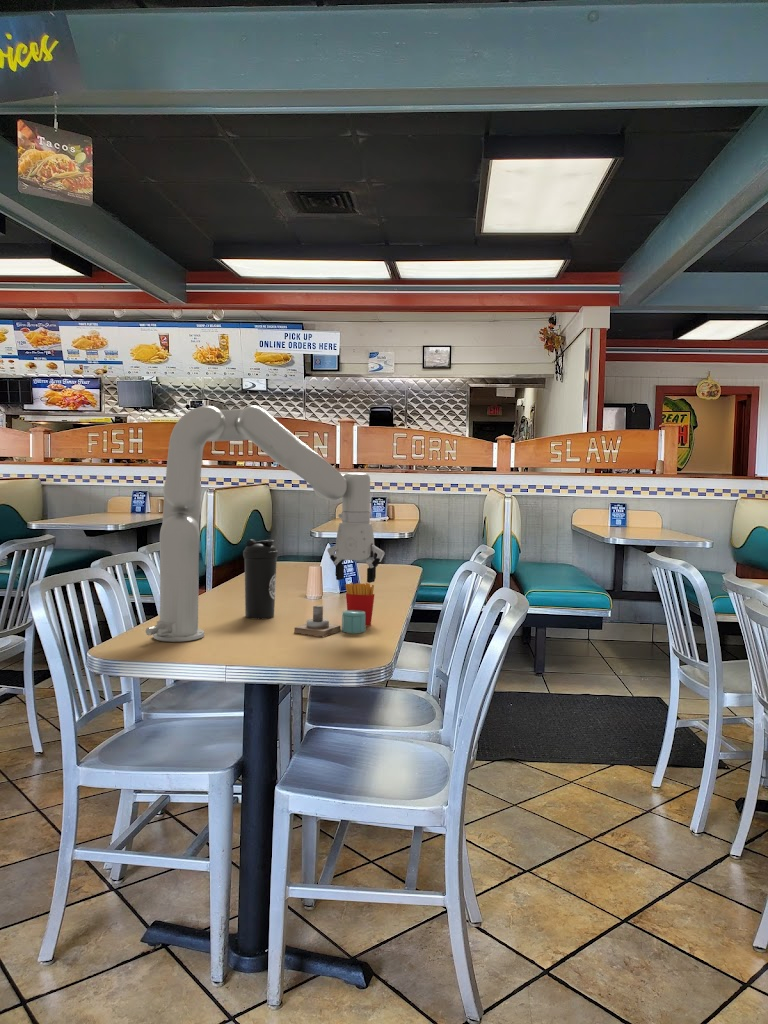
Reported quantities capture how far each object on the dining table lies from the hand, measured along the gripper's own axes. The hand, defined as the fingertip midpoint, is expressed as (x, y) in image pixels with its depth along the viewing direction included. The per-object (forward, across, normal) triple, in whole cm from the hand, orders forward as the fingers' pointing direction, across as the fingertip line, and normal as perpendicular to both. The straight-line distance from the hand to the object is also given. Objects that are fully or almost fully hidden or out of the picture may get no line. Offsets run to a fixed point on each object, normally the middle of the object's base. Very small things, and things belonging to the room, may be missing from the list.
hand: (355, 580), depth 194 cm
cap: (+14, 0, 0) cm, 14 cm away
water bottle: (+14, -34, +3) cm, 37 cm away
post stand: (+14, -8, -7) cm, 17 cm away
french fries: (+14, -4, +8) cm, 17 cm away
